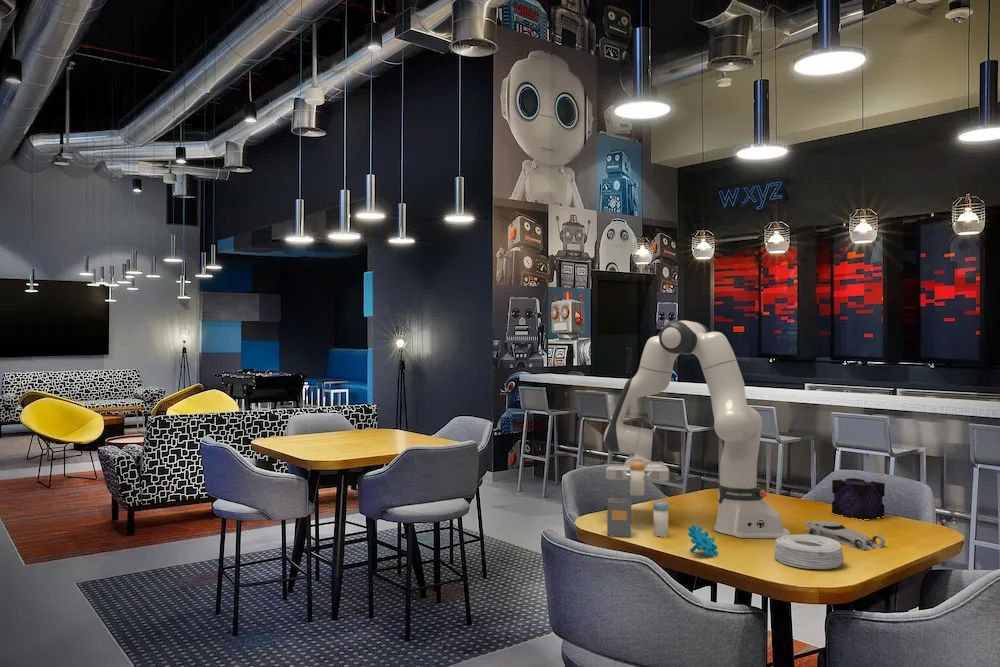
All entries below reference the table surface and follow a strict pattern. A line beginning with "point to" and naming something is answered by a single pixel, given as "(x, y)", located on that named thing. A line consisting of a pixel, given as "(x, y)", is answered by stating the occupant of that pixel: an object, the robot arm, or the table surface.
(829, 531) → the car model
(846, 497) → the energy cube
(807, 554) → the cable
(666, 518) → the blue cap canister
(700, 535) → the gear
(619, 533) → the box
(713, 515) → the table surface
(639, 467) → the orange cap canister
